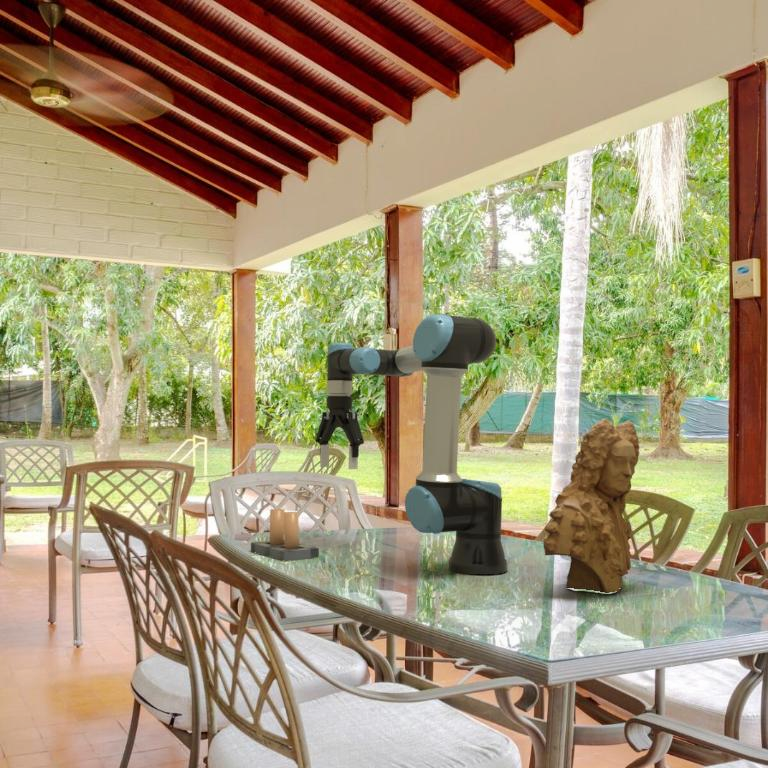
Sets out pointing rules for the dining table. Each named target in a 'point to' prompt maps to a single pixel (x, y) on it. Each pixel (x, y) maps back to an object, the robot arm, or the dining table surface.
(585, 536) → the bust
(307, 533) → the dining table surface
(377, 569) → the dining table surface
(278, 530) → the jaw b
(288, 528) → the tan wooden cylinder
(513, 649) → the dining table surface
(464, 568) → the robot arm
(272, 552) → the housing
